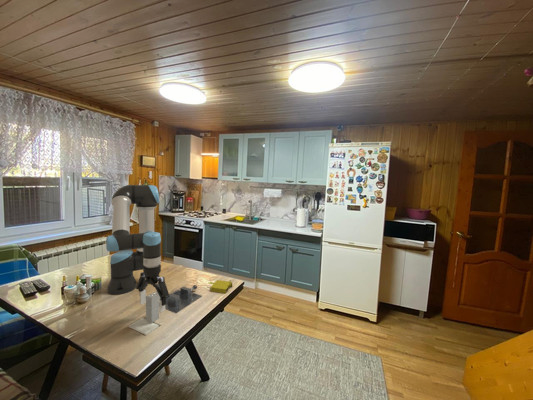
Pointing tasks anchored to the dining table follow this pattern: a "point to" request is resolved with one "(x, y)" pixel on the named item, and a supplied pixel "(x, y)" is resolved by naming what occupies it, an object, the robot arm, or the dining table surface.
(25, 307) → the dining table surface
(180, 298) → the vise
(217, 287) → the bracket
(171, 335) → the dining table surface
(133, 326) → the mat
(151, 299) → the gray rectangular block
